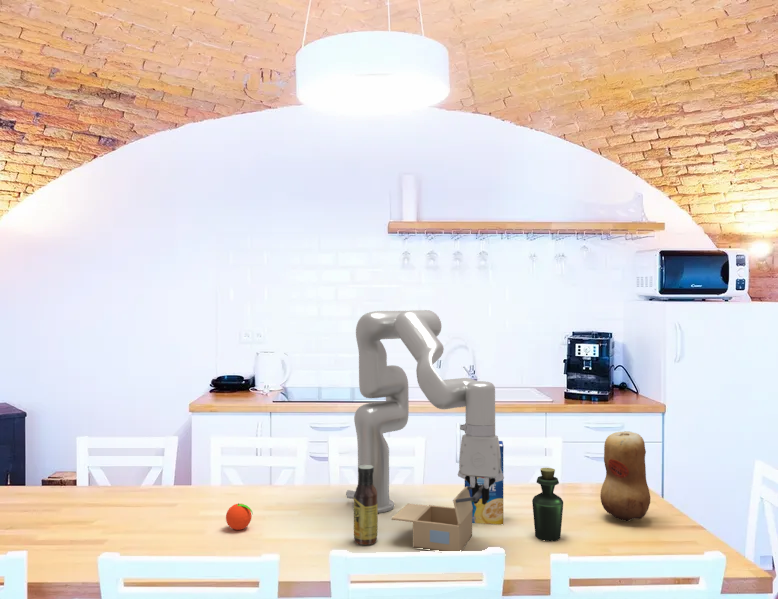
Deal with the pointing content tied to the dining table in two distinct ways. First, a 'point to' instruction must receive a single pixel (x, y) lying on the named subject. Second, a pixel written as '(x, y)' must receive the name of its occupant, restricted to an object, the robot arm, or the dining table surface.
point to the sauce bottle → (365, 507)
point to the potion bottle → (547, 508)
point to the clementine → (238, 516)
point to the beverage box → (494, 506)
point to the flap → (465, 502)
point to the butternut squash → (625, 477)
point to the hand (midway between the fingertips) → (480, 502)
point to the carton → (436, 527)
